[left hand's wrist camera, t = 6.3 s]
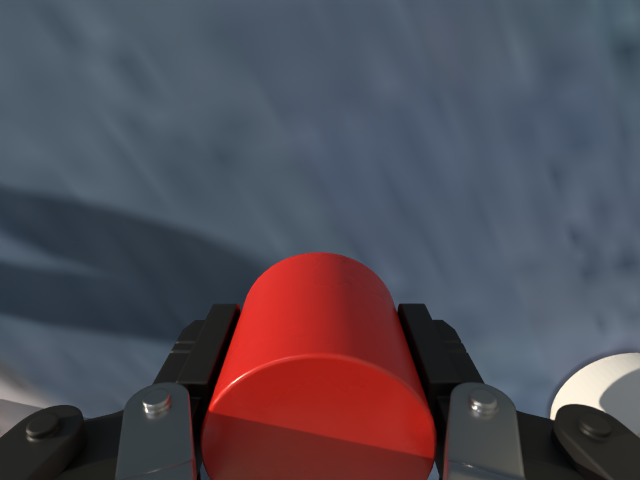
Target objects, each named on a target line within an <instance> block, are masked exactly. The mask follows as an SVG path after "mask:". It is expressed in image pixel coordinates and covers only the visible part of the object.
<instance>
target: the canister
mask: <svg viewBox="0 0 640 480" xmlns="http://www.w3.org/2000/svg"><path fill="white" fill-rule="evenodd" d="M200 448H201V454H202V460H203V464H204V466H205V469H206V472H207V474H208V476H209V478H210V480H427V479H428V477H429V474H430V472H431V470H432V468H433V464H434V460H435V457H436V449H437V434H436V427H435V424H434V420H433V416H432V413H431V411H430V408H429V405H428V402H427V399H426V396H425V393H424V390H423V387H422V384H421V381H420V378H419V375H418V372H417V369H416V367H415V364H414V361H413V358H412V355H411V352H410V349H409V346H408V343H407V340H406V337H405V334H404V331H403V328H402V325H401V322H400V320H399V317H398V314H397V311H396V308H395V305H394V302H393V299H392V297H391V295H390V292H389V290H388V289H387V287H386V286H385V284H384V283H383V282H382V280H381V279H380V278H379V277H378V276H377V275H376V274H375V273H374V272H373V271H372V270H370V269H369V268H368V267H366V266H365V265H363V264H361V263H359V262H357V261H355V260H353V259H351V258H348V257H345V256H342V255H337V254H332V253H307V254H300V255H297V256H293V257H290V258H287V259H285V260H283V261H280V262H279V263H277V264H275V265H273V266H272V267H270V268H269V269H268V270H267V271H265V272H264V273H263V274H262V275H261V276H260V277H259V278H258V279H257V280H256V282H255V283H254V284H253V286H252V287H251V289H250V291H249V293H248V295H247V297H246V300H245V303H244V306H243V308H242V311H241V314H240V317H239V320H238V323H237V326H236V329H235V331H234V334H233V337H232V340H231V343H230V346H229V349H228V351H227V354H226V357H225V360H224V363H223V366H222V369H221V372H220V374H219V377H218V380H217V383H216V386H215V389H214V392H213V395H212V397H211V400H210V403H209V406H208V409H207V412H206V415H205V418H204V420H203V423H202V429H201V434H200Z"/></svg>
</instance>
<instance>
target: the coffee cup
mask: <svg viewBox="0 0 640 480" xmlns="http://www.w3.org/2000/svg"><path fill="white" fill-rule="evenodd" d="M567 404H582V405H587V406H591V407H594V408H597V409H599V410H602V411H604V412H606V413H608V414H609V415H611V416H613V417H614V418H616V419H617V420H618V421H620V422H621V423H622V424H623V425H625V426H626V427H627V428H628V429H630V430H631V431H632V432H633V433H634V434H636V435H637V436H638V437H639V438H640V353H625V354H618V355H613V356H609V357H606V358H603V359H600V360H598V361H595V362H593V363H591V364H589V365H588V366H586V367H584V368H583V369H581V370H580V371H578V372H577V373H576V374H574V375H573V376H572V377H571V378H570V379H569V380H568V381H567V382H566V383H565V384H564V385H563V386H562V388H561V389H560V391H559V392H558V394H557V395H556V397H555V400H554V402H553V405H552V409H551V416H550V419H552V420H555V416H556V413H557V410H558V409H559V408H560V407H562V406H564V405H567Z"/></svg>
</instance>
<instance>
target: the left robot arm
mask: <svg viewBox="0 0 640 480" xmlns="http://www.w3.org/2000/svg"><path fill="white" fill-rule="evenodd" d="M240 314H241V313H240V306H239V304H214V305H213V306H212V308H211V310H210V312H209V314H208V316H207V318H206V320H195V321H194V322H193V323H191V324H190V325H189V326H187V327H186V328H185V329H184V330H183V331H182V333H181V334H180V336H179V338H178V340H177V343H176V344H175V345H174V347H173V349H172V350H171V353H170V354H169V356H168V358H167V359H166V361H165V363H164V365H163V367H162V368H161V370H160V372H159V374H158V375H157V377H156V379H155V381H154V383H153V384H152V385H151V386H148V387H146V388H144V389H142V390H140V391H138V392H137V393H136V394H134V395H133V396H132V397H131V398H130V399H129V401H128V402H127V403H126V405H125V408H124V410H122V411H119V412H117V413H113V414H109V415H105V416H101V417H97V418H92V419H88V420H84V419H83V415H82V412H81V411H80V410H79V409H78V408H76V407H74V406H70V405H58V406H53V407H48V408H45V409H42V410H40V411H37V412H35V413H33V414H31V415H29V416H28V417H26V418H25V419H23V420H22V421H20V422H19V423H18V424H17V425H15V426H14V427H13V428H12V429H10V430H9V431H8V432H7V433H6V434H4V435H3V436H2V437H1V438H0V480H201V474H200V467H201V464H202V461H203V460H202V454H201V448H200V434H201V429H202V423H203V420H204V418H205V415H206V412H207V409H208V406H209V403H210V400H211V397H212V395H213V392H214V389H215V386H216V383H217V380H218V377H219V374H220V372H221V369H222V366H223V363H224V360H225V357H226V354H227V351H228V349H229V346H230V343H231V340H232V337H233V334H234V331H235V329H236V326H237V323H238V320H239V317H240ZM397 314H398V317H399V320H400V322H401V325H402V328H403V331H404V334H405V337H406V340H407V343H408V346H409V349H410V352H411V355H412V358H413V361H414V364H415V367H416V369H417V372H418V375H419V378H420V381H421V384H422V387H423V390H424V393H425V396H426V399H427V402H428V405H429V408H430V411H431V413H432V416H433V420H434V424H435V427H436V434H437V449H436V457H435V463H436V466H437V469H438V473H439V480H640V438H639V437H638V436H637V435H636V434H634V433H633V432H632V431H631V430H630V429H628V428H627V427H626V426H625V425H623V424H622V423H621V422H620V421H618V420H617V419H616V418H614V417H613V416H611V415H609V414H608V413H606V412H604V411H602V410H599V409H597V408H594V407H591V406H587V405H582V404H567V405H564V406H562V407H560V408H559V409H558V410H557V413H556V416H555V420H552V419H547V418H543V417H539V416H535V415H530V414H526V413H523V412H519V411H517V410H516V408H515V405H514V403H513V402H512V401H511V399H510V398H509V397H508V396H507V395H506V394H504V393H503V392H502V391H500V390H498V389H496V388H494V387H492V386H489V385H487V384H485V383H484V382H483V380H482V378H481V376H480V374H479V373H478V371H477V369H476V367H475V365H474V364H473V362H472V360H471V358H470V356H469V354H468V353H466V349H465V347H464V345H463V344H462V343H461V340H460V338H459V336H458V335H457V333H456V331H455V329H453V328H452V327H451V326H450V325H448V324H447V323H446V322H444V321H443V320H432V318H431V316H430V314H429V312H428V310H427V308H426V306H425V304H399V306H398V313H397Z"/></svg>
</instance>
